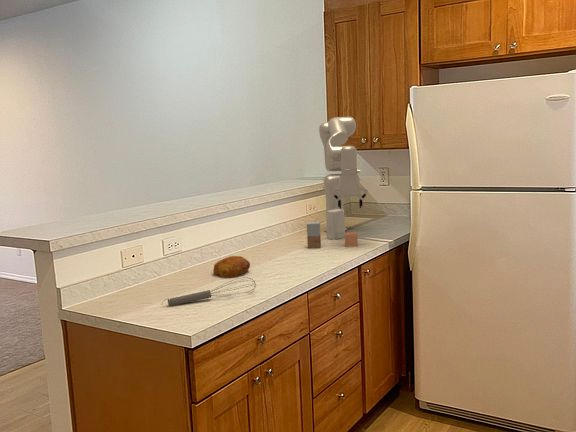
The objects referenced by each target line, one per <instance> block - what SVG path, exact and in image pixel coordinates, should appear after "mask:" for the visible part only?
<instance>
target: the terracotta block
mask: <svg viewBox="0 0 576 432" xmlns="http://www.w3.org/2000/svg"><path fill="white" fill-rule="evenodd" d="M358 242H359V241H358V231H350V232H349V231H348V232H346V231H345V237H344V247H346V248H348V247H349V248H353V247H356V248H357V247H358V245H359V244H358Z"/></svg>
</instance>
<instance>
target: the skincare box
mask: <svg viewBox="0 0 576 432" xmlns="http://www.w3.org/2000/svg"><path fill="white" fill-rule="evenodd" d="M325 217H326V219H325V221H326V228H327V232H326V238H327V239H329V240H332V239H333V240H334V241H335V240H339V239H343V238H344V239H345V232H346V231H345V227H346V222H345V218H346V217H345V209H343V210H341V209H334V210H330V211H325ZM333 240H332V241H333Z"/></svg>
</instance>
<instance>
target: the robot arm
mask: <svg viewBox="0 0 576 432" xmlns="http://www.w3.org/2000/svg"><path fill="white" fill-rule="evenodd" d="M356 129H357V123H356V120H355V118H353V117H352V116H336V117H335V116H334V117H333V118H332V117H331V118H330V119H329V120H328V121H325V122H322V123H321V124H320V125H319V128H318V130H319V131H318V133H319V138H320V140H321V143H322V145H323V153H324V154H323V155H324V166H325V167H324V168H325V170H326V171H328V172H340V173H329V174H327V175H324V178H323V188H324V193H325V210H326V211H330V210H334V209H341V210H344V199H343V197H358V199H359V200H358V201H359V204H358V205H359V208H360V209H361V208H362V207H363V200H364V198H365V197H366V196H367V195H368V193H369V190H368V189H366V188H364V187H362V186H361V182H360V180H361V179H360V176H359V173H361V170H360V169H358V158H357V156H358V150H357V148H356V147H355V146H353V145H344V144H346V142H347V141H348V139H349V137H351V136H352V135H353V134H354V133H355V132H356ZM361 192H363V194H362V195H361ZM326 211H325V212H326ZM347 230H348V229H347V227H346V226H345V232H346V231H347ZM323 231H324V232H326V233H327V227H325V228H324V229H323Z"/></svg>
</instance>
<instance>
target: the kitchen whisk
mask: <svg viewBox="0 0 576 432" xmlns="http://www.w3.org/2000/svg"><path fill="white" fill-rule="evenodd" d="M242 281H244V282H246V281H248V282H253V283H252V284H251V283H248V284H247V285H246V284H244V285H240V286H238V287H237V286H236V287H234V288H232V287H230V288H226V289H224V290H223V289H222V288H225V287H226V286H229V285H232V284H235V283H237V282H238V283H240V282H242ZM256 285H257V283H256V280H254V279H253V278H250V277H245V276H244V277H241V280H240V277H238V278H235V279H232V280H229V281H227V282H225V283H223V284H222V285H219V286H216V287H215V288H214V289H212V290H209V289H207V290H203V291H199V292H195V293H189V294H185V295H180V296H176V297H171V298H166V299H164V300H163V301H162V303H161V304H163V302H165V301H166V300H167V304H168V307H174V305H175V306H179V305H183V304H188V303H192V302H196V301H201V300H202V301H203V300H205V299H206V300H207V299H210V298H212V297H218V298H219V297H220V298H222V296H223V297H232V294H230V293H229V294H228V293H225V294H222V295H219V293H221V292H222V293H223V292H226V291H227V292H228V291H231V290H232V291H234V290H236V289H237V290H239V289H240V288H241V289H242V288H248V287H251V286H253V288H252V289H251V290H249V291H244V292H242V294H246V295H250V294H252V293H253V291H255V289H256V288H257V286H256ZM219 289H222V290H219ZM216 290H218V291H216ZM249 292H250V293H249ZM247 293H248V294H247ZM236 294H240V293H239V292H237V293H236V292H235V295H236Z"/></svg>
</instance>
